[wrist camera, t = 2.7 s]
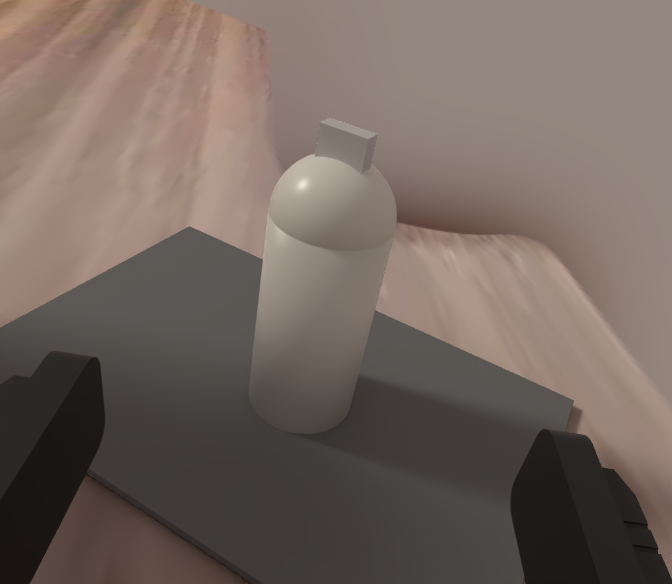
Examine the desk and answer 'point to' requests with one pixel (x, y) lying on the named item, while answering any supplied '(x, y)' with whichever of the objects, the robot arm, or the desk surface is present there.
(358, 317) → the white domed bottle
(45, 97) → the desk surface
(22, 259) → the desk surface
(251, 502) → the desk mat
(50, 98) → the desk surface
